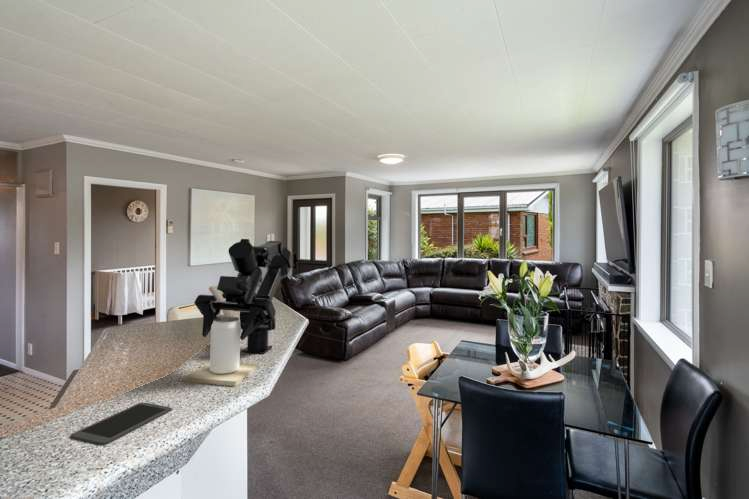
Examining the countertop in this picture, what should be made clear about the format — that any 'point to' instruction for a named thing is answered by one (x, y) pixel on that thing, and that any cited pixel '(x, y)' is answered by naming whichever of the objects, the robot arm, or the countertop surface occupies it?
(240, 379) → the coaster
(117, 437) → the cell phone
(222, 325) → the can
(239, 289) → the robot arm
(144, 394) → the countertop surface
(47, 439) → the countertop surface
